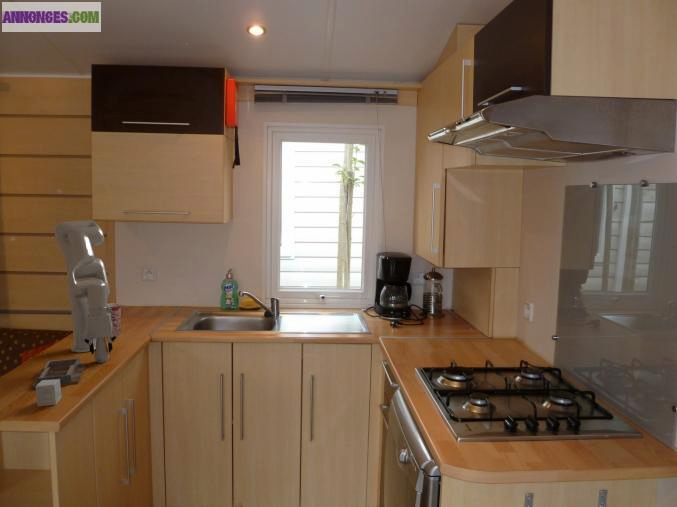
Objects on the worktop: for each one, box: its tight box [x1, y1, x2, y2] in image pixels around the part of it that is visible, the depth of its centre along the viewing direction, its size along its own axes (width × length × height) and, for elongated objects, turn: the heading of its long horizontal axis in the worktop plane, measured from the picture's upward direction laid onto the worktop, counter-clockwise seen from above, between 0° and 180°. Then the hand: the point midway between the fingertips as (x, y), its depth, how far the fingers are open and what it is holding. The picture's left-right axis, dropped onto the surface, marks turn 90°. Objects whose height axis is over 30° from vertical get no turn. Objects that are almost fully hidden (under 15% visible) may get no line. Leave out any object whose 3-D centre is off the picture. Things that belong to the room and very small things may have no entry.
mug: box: [108, 302, 122, 332], centre depth 284 cm, size 13×9×14 cm
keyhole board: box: [30, 362, 87, 390], centre depth 215 cm, size 22×16×1 cm
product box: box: [35, 379, 62, 407], centre depth 189 cm, size 6×6×7 cm
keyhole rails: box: [39, 357, 82, 383], centre depth 215 cm, size 22×12×2 cm, turn 18°
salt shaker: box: [93, 336, 110, 364], centre depth 232 cm, size 6×6×13 cm
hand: (101, 352), depth 232 cm, fingers open, 6 cm apart
